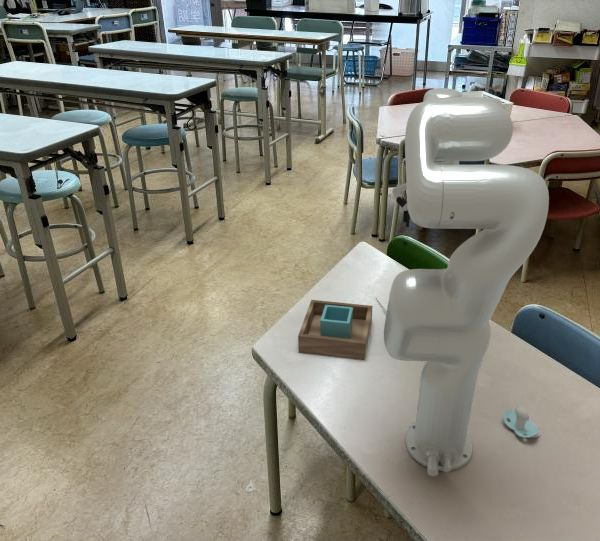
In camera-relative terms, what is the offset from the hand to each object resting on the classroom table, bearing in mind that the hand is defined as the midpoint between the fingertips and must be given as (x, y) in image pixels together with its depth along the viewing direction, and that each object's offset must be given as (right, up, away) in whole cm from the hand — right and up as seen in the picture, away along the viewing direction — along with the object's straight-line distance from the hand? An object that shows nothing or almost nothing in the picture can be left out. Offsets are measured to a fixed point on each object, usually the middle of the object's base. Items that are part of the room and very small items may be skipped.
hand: (429, 226), depth 122 cm
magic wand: (-6, -22, +24) cm, 33 cm away
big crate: (-20, -26, +16) cm, 37 cm away
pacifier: (+16, -42, -12) cm, 46 cm away
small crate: (-20, -26, +15) cm, 36 cm away
